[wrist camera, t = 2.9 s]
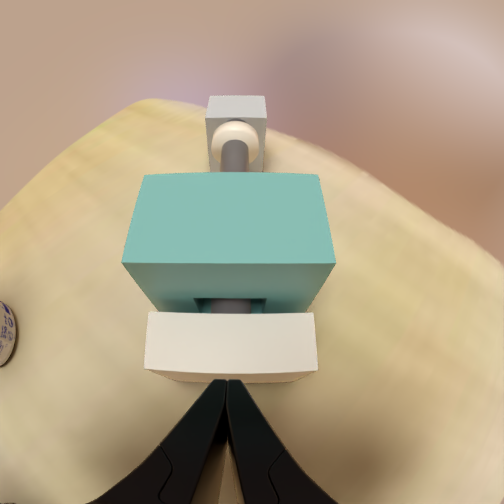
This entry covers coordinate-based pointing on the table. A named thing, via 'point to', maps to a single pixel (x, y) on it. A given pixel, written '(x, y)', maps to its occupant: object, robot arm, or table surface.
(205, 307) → the teal block with hole
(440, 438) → the table surface
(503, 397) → the table surface
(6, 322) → the beverage can
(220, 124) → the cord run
